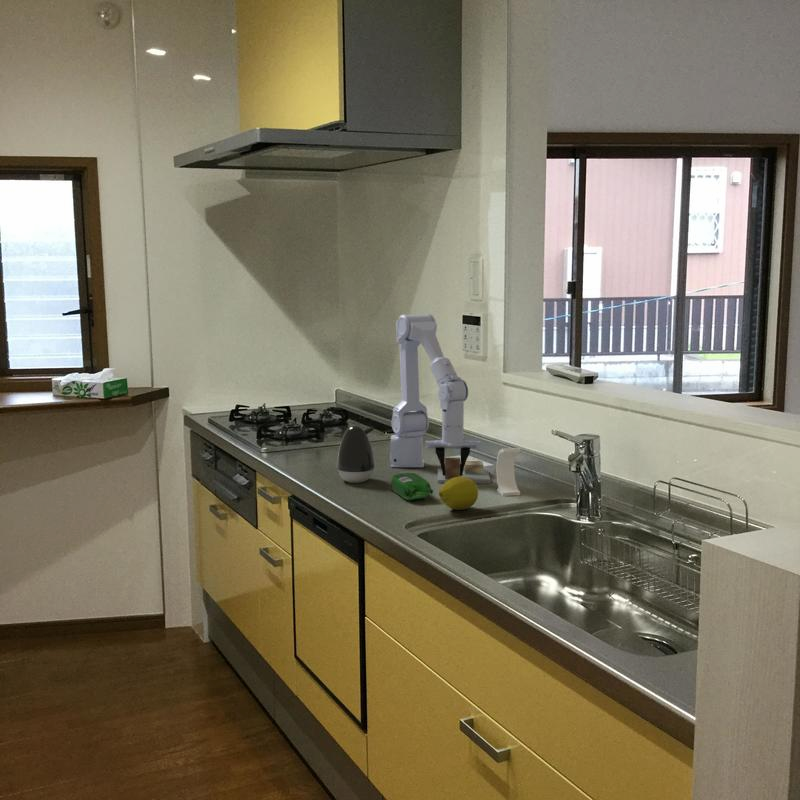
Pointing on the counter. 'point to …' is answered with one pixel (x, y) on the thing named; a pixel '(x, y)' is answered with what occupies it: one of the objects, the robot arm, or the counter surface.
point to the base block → (474, 467)
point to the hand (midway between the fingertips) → (452, 474)
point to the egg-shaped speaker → (355, 455)
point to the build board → (474, 477)
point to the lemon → (459, 493)
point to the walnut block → (452, 467)
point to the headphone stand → (506, 472)
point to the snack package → (411, 486)
